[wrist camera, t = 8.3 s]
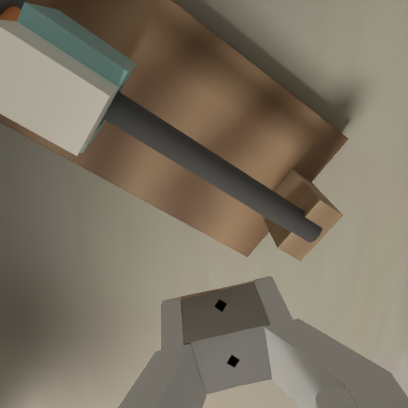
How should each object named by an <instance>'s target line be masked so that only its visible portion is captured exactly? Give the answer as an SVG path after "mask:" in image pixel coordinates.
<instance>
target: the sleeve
mask: <svg viewBox="0 0 408 408" xmlns="http://www.w3.org/2000/svg"><path fill="white" fill-rule="evenodd" d="M136 65H137V63H135V62H134V61H132V60H131V59H129V58H128V57H126V56H125V55H123V54H122V53H121V52H119V51H118V50H116V49H115V48H113V47H112V46H110V45H109V44H107V43H106V42H105V41H103V40H102V39H100V38H99V37H97V36H96V35H94V34H93V33H91V32H90V31H89V30H87V29H86V28H84V27H83V26H81V25H80V24H78V23H77V22H75V21H74V20H73V19H71V18H70V17H68V16H67V15H65V14H64V13H62V12H61V11H59V10H57V9H53V8H49V7H44V6H40V5H35V4H31V3H27V2H24V5H23V7H22V9H21V12H20V14H19V17H18V19H17V21H9V20H0V114H2V115H3V116H5V117H7V118H9V119H11V120H12V121H14V122H16V123H18V124H20V125H21V126H23V127H25V128H27V129H29V130H30V131H32V132H34V133H36V134H38V135H39V136H41V137H43V138H45V139H47V140H48V141H50V142H52V143H54V144H56V145H58V146H59V147H61V148H63V149H65V150H67V151H68V152H70V153H72V154H74V155H76V156H78V154H79V153H83V152H84V150H85V149H86V148H87V146H88V145H89V144H90V143H91V141H92V140H93V139H94V137H95V136H96V135H97V133H98V132H99V131H100V129H101V127H102V125H103V124H104V122H105V120H104V119H103V117H104V115H105V114H106V112H107V110H108V108H109V106H110V105H111V103H112V101H113V99H114V97H115V96H116V94H117V92H118V91H119V92H121V91H122V90H123V88H124V86H125V84H126V82H127V81H128V79H129V77H130V75H131V74H132V72H133V70H134V68H135V66H136Z"/></svg>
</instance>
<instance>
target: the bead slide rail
mask: <svg viewBox="0 0 408 408" xmlns="http://www.w3.org/2000/svg"><path fill="white" fill-rule="evenodd" d="M24 2H27V0H0V20H9V21H17V19H18V17H19V14H20V12H21V9H22V7H23V5H24ZM103 119H104V120H106V121H108V122H109V123H111V124H113V125H114V126H116V127H118V128H119V129H121V130H123V131H124V132H126V133H127V134H129V135H131V136H132V137H134V138H136V139H137V140H139V141H141V142H142V143H144V144H146V145H147V146H149V147H151V148H152V149H154V150H155V151H157V152H159V153H160V154H162V155H164V156H165V157H167V158H169V159H170V160H172V161H174V162H175V163H177V164H179V165H180V166H182V167H183V168H185V169H187V170H188V171H190V172H192V173H193V174H195V175H197V176H198V177H200V178H202V179H203V180H205V181H207V182H208V183H210V184H212V185H213V186H215V187H216V188H218V189H220V190H221V191H223V192H225V193H226V194H228V195H230V196H231V197H233V198H235V199H236V200H238V201H240V202H241V203H243V204H244V205H246V206H248V207H249V208H251V209H253V210H254V211H256V212H258V213H259V214H261V215H263V216H264V217H266V218H268V219H269V220H271V221H272V222H274V223H276V224H277V225H279V226H281V227H282V228H284V229H286V230H287V231H289V232H293V233H294V234H296V235H297V236H299V237H301V238H302V239H304V240H306V241H307V242H309V243H310V242H313V241H315V240H316V239H317V238H318V237H319V235H320V234H321V231H322V228H321V227H320V226H318V225H317V224H315V223H313V222H312V221H310V220H309V219H307V218H306V217H305V212H304V211H303V210H302V209H300V208H299V207H297V206H296V205H294V204H293V203H291V202H289V201H288V200H286V199H285V198H283V197H282V196H280V195H279V194H277V193H276V192H274V191H272V190H271V189H269V188H268V187H266V186H265V185H263V184H262V183H260V182H258V181H257V180H255V179H254V178H252V177H251V176H249V175H248V174H246V173H245V172H243V171H241V170H240V169H238V168H237V167H235V166H234V165H232V164H231V163H229V162H227V161H226V160H224V159H223V158H221V157H220V156H218V155H217V154H215V153H214V152H212V151H210V150H209V149H207V148H206V147H204V146H203V145H201V144H200V143H198V142H196V141H195V140H193V139H192V138H190V137H189V136H187V135H186V134H184V133H183V132H181V131H179V130H178V129H176V128H175V127H173V126H172V125H170V124H169V123H167V122H165V121H164V120H162V119H161V118H159V117H158V116H156V115H155V114H153V113H152V112H150V111H148V110H147V109H145V108H144V107H142V106H141V105H139V104H138V103H136V102H134V101H133V100H131V99H130V98H128V97H127V96H125V95H124V94H122V93H121V92H119V91H118V92H117V94H116V96H115V97H114V99H113V101H112V103H111V105H110V106H109V108H108V110H107V112H106V114H105V115H104V117H103Z"/></svg>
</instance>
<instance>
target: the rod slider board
mask: <svg viewBox="0 0 408 408" xmlns="http://www.w3.org/2000/svg"><path fill="white" fill-rule="evenodd" d="M27 3H31V4H35V5H40V6H44V7H49V8H53V9H57V10H59V11H61V12H62V13H64V14H65V15H67V16H68V17H70V18H71V19H73V20H74V21H75V22H77V23H78V24H80V25H81V26H83V27H84V28H86V29H87V30H89V31H90V32H91V33H93V34H94V35H96V36H97V37H99V38H100V39H102V40H103V41H105V42H106V43H107V44H109V45H110V46H112V47H113V48H115V49H116V50H118V51H119V52H121V53H122V54H123V55H125V56H126V57H128V58H129V59H131V60H132V61H134V62H135V63H137V65H136V66H135V68H134V70H133V72H132V74H131V75H130V77H129V79H128V81H127V82H126V84H125V86H124V88H123V90H122V91H121V93H122V94H124V95H125V96H127V97H128V98H130V99H131V100H133V101H134V102H136V103H138V104H139V105H141V106H142V107H144V108H145V109H147V110H148V111H150V112H152V113H153V114H155V115H156V116H158V117H159V118H161V119H162V120H164V121H165V122H167V123H169V124H170V125H172V126H173V127H175V128H176V129H178V130H179V131H181V132H183V133H184V134H186V135H187V136H189V137H190V138H192V139H193V140H195V141H196V142H198V143H200V144H201V145H203V146H204V147H206V148H207V149H209V150H210V151H212V152H214V153H215V154H217V155H218V156H220V157H221V158H223V159H224V160H226V161H227V162H229V163H231V164H232V165H234V166H235V167H237V168H238V169H240V170H241V171H243V172H245V173H246V174H248V175H249V176H251V177H252V178H254V179H255V180H257V181H258V182H260V183H262V184H263V185H265V186H266V187H268V188H269V189H271V190H272V191H274V192H276V193H277V194H279V195H280V196H282V197H283V198H285V199H286V200H288V201H289V202H291V203H293V204H294V205H296V206H297V207H299V208H300V209H302V210H303V211H304V212H305V217H306V218H307V219H309V220H310V221H312V222H313V223H315V224H317V225H318V226H320V227H321V228H322V231H321V234H320V235H319V237H318V238H317V239H316V240H315V241H313V242H310V243H309V242H307V241H306V240H304V239H302V238H301V237H299V236H297V235H296V234H294V233H293V232H289V231H287V230H286V229H284V228H282V227H281V226H279V225H277V224H276V223H274V222H272V221H271V220H269V219H268V218H266V217H264V216H263V215H261V214H259V213H258V212H256V211H254V210H253V209H251V208H249V207H248V206H246V205H244V204H243V203H241V202H240V201H238V200H236V199H235V198H233V197H231V196H230V195H228V194H226V193H225V192H223V191H221V190H220V189H218V188H216V187H215V186H213V185H212V184H210V183H208V182H207V181H205V180H203V179H202V178H200V177H198V176H197V175H195V174H193V173H192V172H190V171H188V170H187V169H185V168H183V167H182V166H180V165H179V164H177V163H175V162H174V161H172V160H170V159H169V158H167V157H165V156H164V155H162V154H160V153H159V152H157V151H155V150H154V149H152V148H151V147H149V146H147V145H146V144H144V143H142V142H141V141H139V140H137V139H136V138H134V137H132V136H131V135H129V134H127V133H126V132H124V131H123V130H121V129H119V128H118V127H116V126H114V125H113V124H111V123H109V122H108V121H106V120H105V122H104V124H103V125H102V127H101V129H100V131H99V132H98V133H97V135H96V136H95V137H94V139H93V140H92V141H91V143H90V144H89V145H88V146H87V148H86V149H85V150H84V152H83V153H79V154H78V156H76V155H74V154H72V153H70V152H68V151H67V150H65V149H63V148H61V147H59V146H58V145H56V144H54V143H52V142H50V141H48V140H47V139H45V138H43V137H41V136H39V135H38V134H36V133H34V132H32V131H30V130H29V129H27V128H25V127H23V126H21V125H20V124H18V123H16V122H14V121H12V120H11V119H9V118H7V117H5V116H3V115H2V114H0V122H1V123H3V124H5V125H6V126H8V127H10V128H12V129H14V130H16V131H17V132H19V133H21V134H23V135H25V136H27V137H28V138H30V139H32V140H34V141H36V142H38V143H39V144H41V145H43V146H45V147H47V148H49V149H50V150H52V151H54V152H56V153H58V154H60V155H61V156H63V157H65V158H67V159H69V160H71V161H72V162H74V163H76V164H78V165H80V166H82V167H83V168H85V169H87V170H89V171H91V172H93V173H94V174H96V175H98V176H100V177H102V178H104V179H105V180H107V181H109V182H111V183H113V184H115V185H116V186H118V187H120V188H122V189H124V190H125V191H127V192H129V193H131V194H133V195H135V196H136V197H138V198H140V199H142V200H144V201H146V202H147V203H149V204H151V205H153V206H155V207H157V208H158V209H160V210H162V211H164V212H166V213H168V214H169V215H171V216H173V217H175V218H177V219H179V220H180V221H182V222H184V223H186V224H188V225H190V226H191V227H193V228H195V229H197V230H199V231H201V232H202V233H204V234H206V235H208V236H210V237H212V238H213V239H215V240H217V241H219V242H221V243H223V244H224V245H226V246H228V247H230V248H232V249H234V250H235V251H237V252H239V253H241V254H243V255H245V256H246V257H248V256H249V254H250V253H251V252H252V251H253V250H254V249H255V247H256V246H257V245H258V244H259V243H260V242H261V240H262V239H263V238H264V237H265V236H266V235H267V233H268V232H270V234H271V236H272V238H273V239H274V241H275V243H276V245H277V247H278V248H279V249H281V250H282V251H284V252H286V253H287V254H289V255H291V256H293V257H294V258H296V259H298V260H300V261H301V260H302V259H303V258H304V257H305V256H306V255H307V254H308V253H309V252H310V250H311V249H312V248H313V247H314V246H315V245H316V244H317V243H318V242H319V241H320V240H321V239H322V238H323V237H324V235H325V234H326V233H327V232H328V231H329V230H330V229H331V228H332V227H333V226H334V225H335V224H336V223H337V222H338V220H339V219H340V218H341V217H342V216H343V215H342V214H341V213H340V212H339V211H338V209H337V208H336V207H335V206H334V205H333V204H332V203H331V202H330V201H329V200H328V199H327V198H326V197H325V196H324V195H323V194H322V193H321V192H320V191H319V190H318V189H317V188H316V186H315V185H314V184H313V183H312V181H313V180H314V179H315V177H316V176H317V175H318V174H319V173H320V172H321V170H322V169H323V168H324V167H325V166H326V165H327V163H328V162H329V161H330V160H331V159H332V158H333V156H334V155H335V154H336V153H337V152H338V151H339V149H340V148H341V147H342V146H343V145H344V144H345V142H346V141H347V140H348V138H347V137H346V136H344V135H343V134H342V133H341V132H339V131H338V130H337V129H335V128H334V127H333V126H332V125H330V124H329V123H328V122H326V121H325V120H324V119H323V118H321V117H320V116H319V115H318V114H316V113H315V112H314V111H312V110H311V109H310V108H309V107H307V106H306V105H305V104H303V103H302V102H301V101H300V100H298V99H297V98H296V97H295V96H293V95H292V94H291V93H289V92H288V91H287V90H286V89H284V88H283V87H282V86H281V85H279V84H278V83H277V82H275V81H274V80H273V79H272V78H270V77H269V76H268V75H266V74H265V73H264V72H263V71H261V70H260V69H259V68H258V67H256V66H255V65H254V64H252V63H251V62H250V61H249V60H247V59H246V58H245V57H244V56H242V55H241V54H240V53H238V52H237V51H236V50H235V49H233V48H232V47H231V46H229V45H228V44H227V43H226V42H224V41H223V40H222V39H221V38H219V37H218V36H217V35H215V34H214V33H213V32H212V31H210V30H209V29H208V28H207V27H205V26H204V25H203V24H201V23H200V22H199V21H198V20H196V19H195V18H194V17H192V16H191V15H190V14H189V13H187V12H186V11H185V10H184V9H182V8H181V7H180V6H178V5H177V4H176V3H175V2H173V1H172V0H27Z"/></svg>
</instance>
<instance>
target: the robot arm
mask: <svg viewBox="0 0 408 408" xmlns="http://www.w3.org/2000/svg"><path fill="white" fill-rule="evenodd" d="M270 379H272V381H273V382H274V383H275V384H276V385H277V386H278V387H279V388H280V389H281V390H282V391H283V392H284V393H286V394H287V395H288V396H289V397H290V398H291V399H292V400H293V401H294V402H295V403H296V404H297V405H298V406H299V407H300V408H408V397H407V395H406V394H405V393H404V391H403V390H402V388H401V387H400V386H399V384H398V383H397V381H396V380H395V378H394V377H393V375H392V374H391V373H390V372H389V371H387V370H385V369H384V368H382V367H380V366H378V365H377V364H375V363H373V362H372V361H370V360H368V359H367V358H365V357H363V356H361V355H360V354H358V353H356V352H355V351H353V350H351V349H350V348H348V347H346V346H345V345H343V344H341V343H339V342H338V341H336V340H334V339H333V338H331V337H329V336H328V335H326V334H324V333H322V332H321V331H319V330H317V329H316V328H314V327H312V326H311V325H309V324H307V323H305V322H304V321H302V320H300V319H294V320H293V319H292V317H291V315H290V313H289V311H288V308H287V306H286V304H285V302H284V300H283V298H282V296H281V294H280V292H279V290H278V288H277V286H276V284H275V282H274V280H273V278H272V277H271V276H269V277H265V278H261V279H257V280H253V281H250V282H246V283H241V284H237V285H233V286H229V287H224V288H220V289H216V290H211V291H206V292H201V293H196V294H191V295H186V296H181V297H178V298H173V299H168V300H164V301H162V304H161V350H160V351H156V352H155V353H154V355H153V356H152V358H151V359H150V361H149V362H148V364H147V365H146V367H145V368H144V370H143V371H142V373H141V374H140V376H139V377H138V379H137V380H136V382H135V383H134V385H133V386H132V388H131V389H130V391H129V392H128V394H127V395H126V397H125V398H124V400H123V401H122V403H121V404H120V406H119V407H118V408H202V406H203V404H204V401H205V398H206V394H210V393H214V392H218V391H221V390H225V389H229V388H233V387H236V386H238V385H239V386H241V385H246V384H250V383H255V382H260V381H265V380H270Z"/></svg>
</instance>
